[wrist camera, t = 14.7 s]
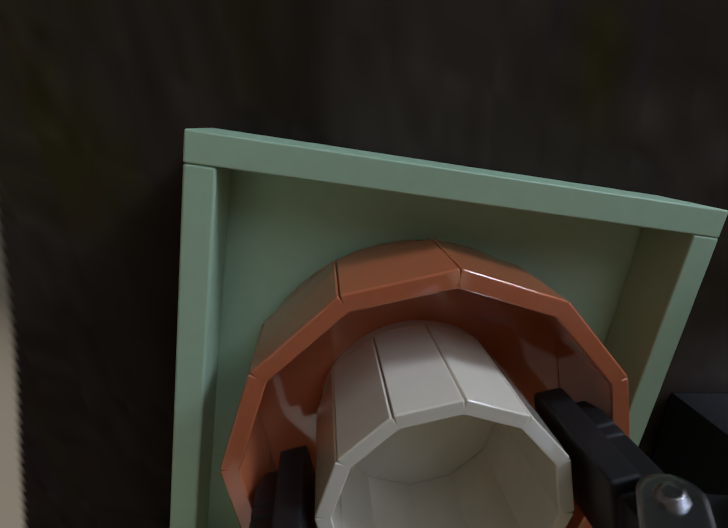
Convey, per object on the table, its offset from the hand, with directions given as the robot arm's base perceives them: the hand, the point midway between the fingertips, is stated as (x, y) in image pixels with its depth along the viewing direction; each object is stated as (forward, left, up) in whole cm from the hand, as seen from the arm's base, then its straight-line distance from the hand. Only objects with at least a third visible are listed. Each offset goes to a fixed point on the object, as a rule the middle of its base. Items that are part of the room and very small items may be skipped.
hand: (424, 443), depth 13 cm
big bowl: (0, 0, -3) cm, 3 cm away
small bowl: (0, 0, -2) cm, 2 cm away
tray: (0, 0, -3) cm, 3 cm away
